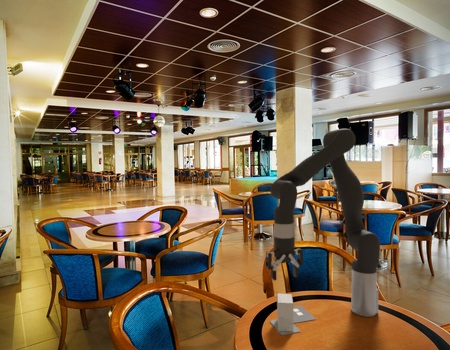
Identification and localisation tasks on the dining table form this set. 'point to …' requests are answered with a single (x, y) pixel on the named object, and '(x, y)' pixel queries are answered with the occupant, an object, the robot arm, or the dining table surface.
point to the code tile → (301, 314)
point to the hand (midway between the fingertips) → (284, 278)
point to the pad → (295, 330)
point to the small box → (285, 312)
